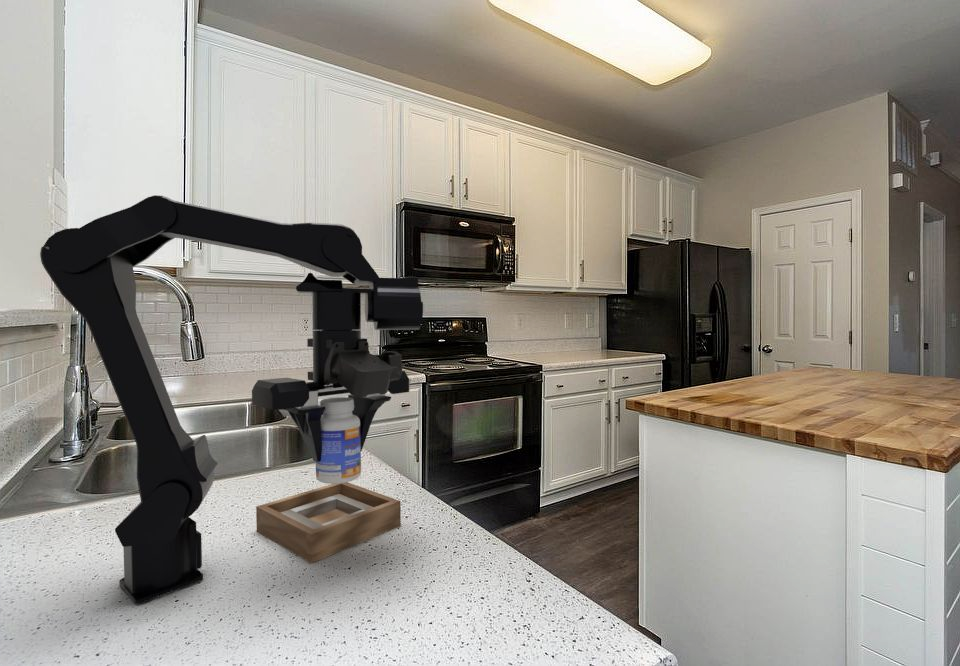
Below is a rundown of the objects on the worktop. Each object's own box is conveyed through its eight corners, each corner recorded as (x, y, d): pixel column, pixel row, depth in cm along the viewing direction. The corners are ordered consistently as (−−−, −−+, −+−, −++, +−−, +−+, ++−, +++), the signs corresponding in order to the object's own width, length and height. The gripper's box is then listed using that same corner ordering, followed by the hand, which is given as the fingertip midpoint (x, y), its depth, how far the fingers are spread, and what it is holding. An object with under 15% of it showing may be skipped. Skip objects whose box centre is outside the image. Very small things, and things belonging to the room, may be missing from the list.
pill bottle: (353, 485, 57) (351, 403, 57) (308, 484, 58) (306, 403, 57) (366, 470, 63) (365, 395, 62) (325, 470, 63) (324, 395, 63)
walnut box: (311, 563, 58) (310, 534, 58) (256, 531, 67) (256, 506, 67) (400, 525, 69) (400, 500, 69) (343, 502, 78) (342, 480, 78)
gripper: (297, 332, 48) (298, 490, 48) (437, 330, 61) (437, 452, 62) (249, 331, 55) (250, 468, 55) (383, 329, 69) (384, 438, 69)
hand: (338, 456), depth 60 cm, fingers closed on pill bottle, 5 cm apart
